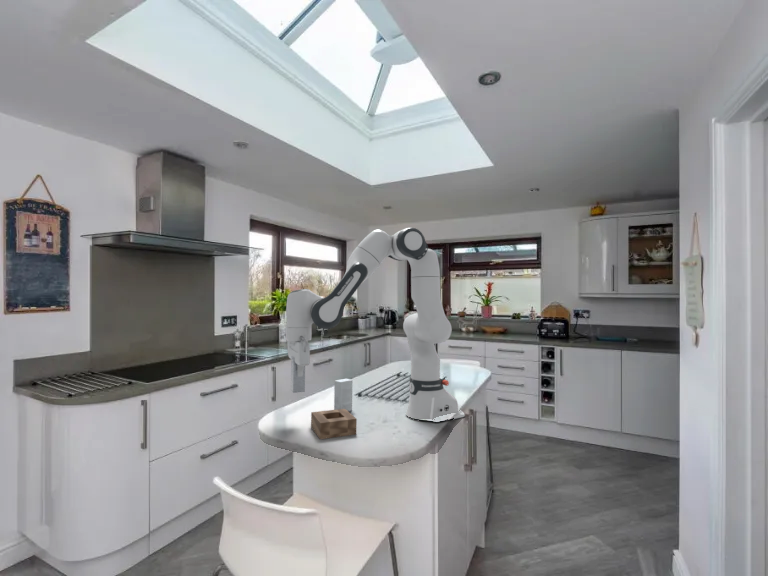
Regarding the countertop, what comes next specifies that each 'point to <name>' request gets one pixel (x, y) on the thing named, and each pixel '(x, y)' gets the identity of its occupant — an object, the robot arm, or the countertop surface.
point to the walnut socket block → (333, 423)
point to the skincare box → (343, 394)
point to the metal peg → (297, 378)
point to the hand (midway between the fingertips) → (298, 374)
